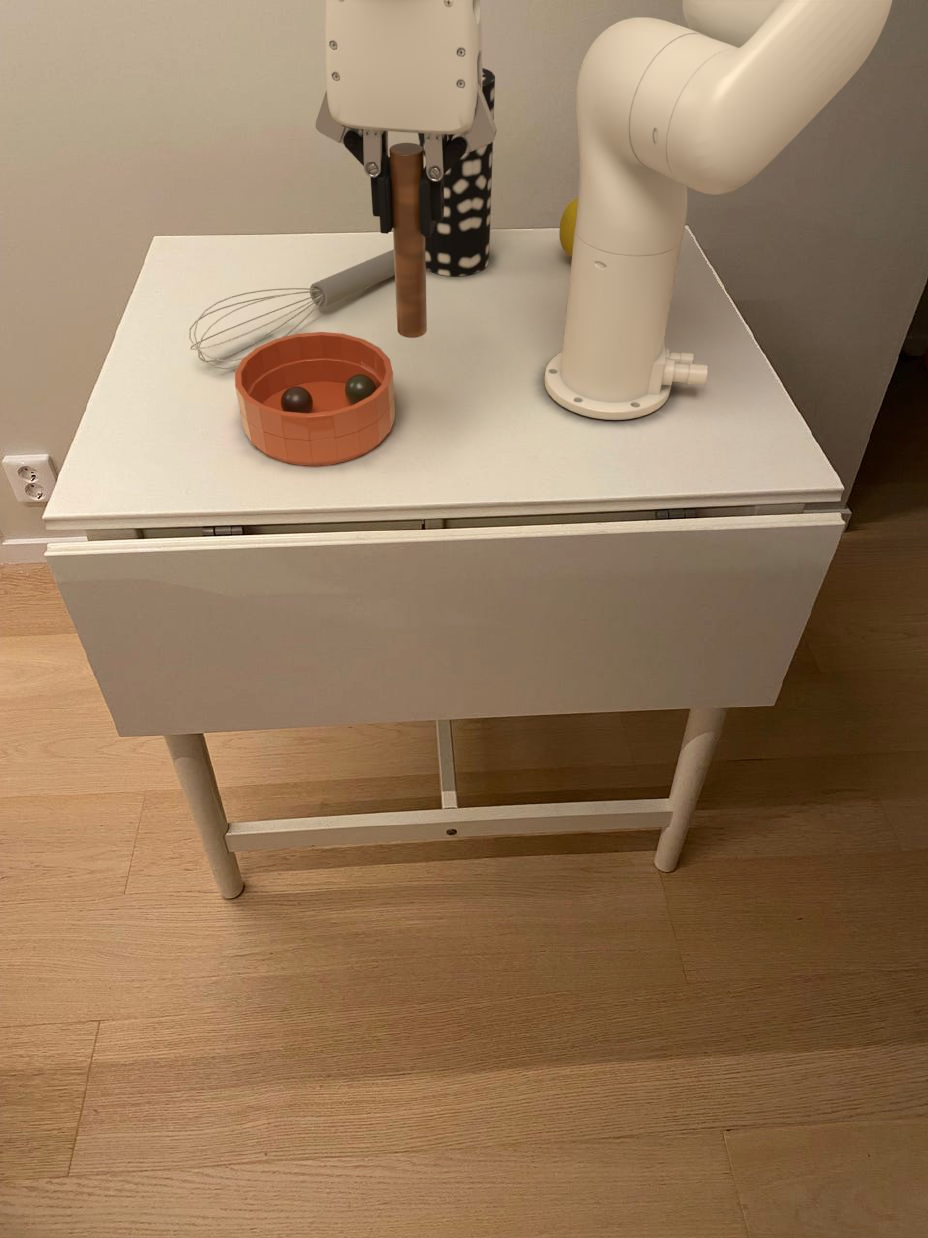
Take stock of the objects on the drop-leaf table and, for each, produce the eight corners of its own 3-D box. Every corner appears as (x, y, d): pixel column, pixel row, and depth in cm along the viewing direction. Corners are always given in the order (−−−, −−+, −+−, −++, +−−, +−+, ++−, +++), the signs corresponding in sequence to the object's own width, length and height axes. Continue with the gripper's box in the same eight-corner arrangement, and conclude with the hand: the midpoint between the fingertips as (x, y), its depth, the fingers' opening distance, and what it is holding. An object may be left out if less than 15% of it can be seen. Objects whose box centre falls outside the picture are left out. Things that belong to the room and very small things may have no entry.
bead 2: (362, 407, 90) (383, 386, 89) (360, 416, 88) (381, 394, 87) (340, 385, 89) (360, 363, 88) (336, 394, 87) (357, 372, 86)
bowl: (406, 388, 92) (404, 338, 88) (378, 474, 82) (374, 423, 78) (268, 376, 93) (260, 326, 89) (224, 460, 84) (213, 408, 80)
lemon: (550, 253, 113) (556, 187, 107) (593, 249, 114) (601, 182, 108) (564, 274, 109) (571, 206, 103) (608, 269, 110) (617, 202, 104)
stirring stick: (429, 324, 76) (426, 143, 65) (424, 339, 74) (420, 156, 64) (400, 321, 76) (392, 141, 66) (394, 336, 74) (386, 153, 64)
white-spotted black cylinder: (497, 250, 113) (504, 68, 99) (477, 280, 108) (481, 92, 93) (433, 240, 115) (431, 60, 100) (410, 270, 110) (404, 83, 95)
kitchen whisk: (437, 268, 110) (436, 215, 105) (223, 392, 92) (211, 334, 87) (398, 253, 112) (396, 201, 108) (183, 371, 94) (169, 314, 90)
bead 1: (301, 407, 89) (321, 393, 87) (296, 430, 87) (317, 416, 86) (277, 388, 87) (297, 374, 85) (271, 412, 86) (292, 397, 84)
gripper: (537, -84, 57) (520, 214, 71) (286, -94, 59) (316, 199, 72) (526, -58, 52) (510, 258, 66) (251, -70, 54) (291, 241, 67)
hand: (408, 225), depth 69 cm, fingers closed on stirring stick, 2 cm apart
